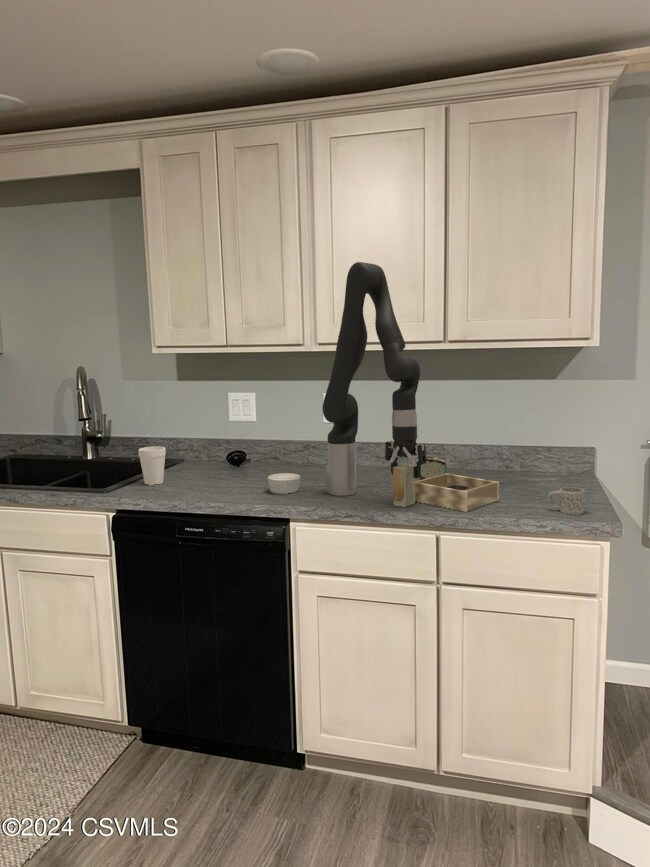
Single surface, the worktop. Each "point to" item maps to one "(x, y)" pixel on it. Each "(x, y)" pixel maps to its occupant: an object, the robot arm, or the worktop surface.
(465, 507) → the walled box
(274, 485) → the ramekin
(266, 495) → the worktop surface
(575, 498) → the mug
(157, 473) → the foam cup
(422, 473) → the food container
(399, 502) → the skincare box
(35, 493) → the worktop surface
